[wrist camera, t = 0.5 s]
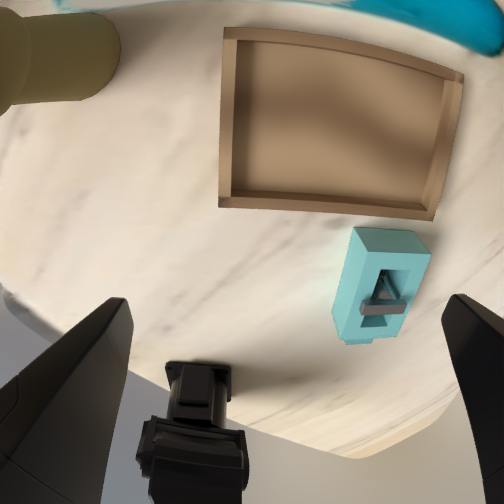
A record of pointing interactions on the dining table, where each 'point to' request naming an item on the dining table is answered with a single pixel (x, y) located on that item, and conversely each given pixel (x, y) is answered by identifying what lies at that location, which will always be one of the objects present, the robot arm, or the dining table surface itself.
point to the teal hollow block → (365, 277)
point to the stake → (382, 301)
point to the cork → (55, 57)
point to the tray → (333, 125)
